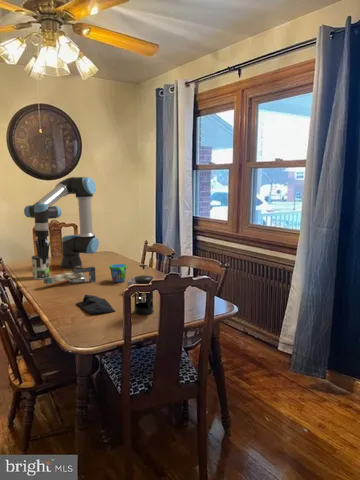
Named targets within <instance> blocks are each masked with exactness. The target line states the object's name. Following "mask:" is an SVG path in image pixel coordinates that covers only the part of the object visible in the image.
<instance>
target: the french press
mask: <svg viewBox="0 0 360 480" xmlns="http://www.w3.org/2000/svg"><path fill="white" fill-rule="evenodd" d="M139 267H140V268H142V272H143V273H142V275H136V276H133V277H134V279H135V283H136V284H149V283H150V281H151V280H152V281H153V279H154V277H153V276H152V275H145V268H146V267H149V265H148V264H140V265H139ZM137 293H138V295H136V293H135V295H134V309H133V313H134V314H135V315H139V316H148V315H149V316H150V315H153V313H154V291H153V292H150V293H146V294H144V293H143V296H142V293H139V292H137ZM137 296H138V297H137Z"/></svg>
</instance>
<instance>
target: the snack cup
mask: <svg viewBox="0 0 360 480" xmlns="http://www.w3.org/2000/svg"><path fill="white" fill-rule="evenodd" d="M127 268H128V266H127V265H126V264H124V263H116V264H115V263H114V264H111V265H109V269H110V276H111V281H112V282H113V283H115V284H117V283H123V282H125V280H126V273H127ZM116 282H117V283H116Z"/></svg>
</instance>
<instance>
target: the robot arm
mask: <svg viewBox="0 0 360 480" xmlns="http://www.w3.org/2000/svg"><path fill="white" fill-rule="evenodd" d="M96 190H97V186H96V183H95V181H94V179H93V178H91V177H88V176H87V177H86V176H79V177H78V176H71V177H68V178H65V179H63V180H61V181H60V182H58V183H57V184H56V185H55V187H54V188H53V189H51V191H49V192H48V193H47V194H45V195H44V196H43V197H42V198H40V199H39V200H38V201H36V202H35V203H34V204H32V205H26V206H25V207H24V208H23V213H24V216H25V217H27V218H31V219H34V229H35V231H34V236H35V237H36V240H34V244H35V247H36V253H37V255H38V257H39V258H40V265H41V269H46V258H48V256H49V252H50V251H49V250H50V246H51V242H50V241H49V240H48V237H49V236H50V233H49V227H50V226H49V220H51V219H57V218H60V217H61V216H62V209H61V208H60V206H58V205H55V203H57V202H58V201H59V200H60V199H61V198H63V197H67V196H68V195H75V198H76V199H77V200H78V201H77V202H78V205H77V206H78V215H79V218H78V220H79V234H70V235H64V236H63V237H62V239H61V244H62V245H61V246H62V249H61V250H62V257H61V262H60V268H62V269H75V268H74V266H80V268H81V267H82V266H83V262H82V260H81V257H80V254H87V255H89V254H90V255H92V254H95V253H96V252H97V251H98V249H99V245H100V241H99V238H97V237H96V234H95V233H94V232H93V231H94V230H93V215H92V198H93V196H94V194H95V193H96Z"/></svg>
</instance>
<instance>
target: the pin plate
mask: <svg viewBox="0 0 360 480" xmlns="http://www.w3.org/2000/svg"><path fill="white" fill-rule="evenodd" d="M67 281H68V283H69V284H83V283H87V282H88V279H87V276H86V275H84V274H83V276H82V277H78V278H72V279H68V280H67Z"/></svg>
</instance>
